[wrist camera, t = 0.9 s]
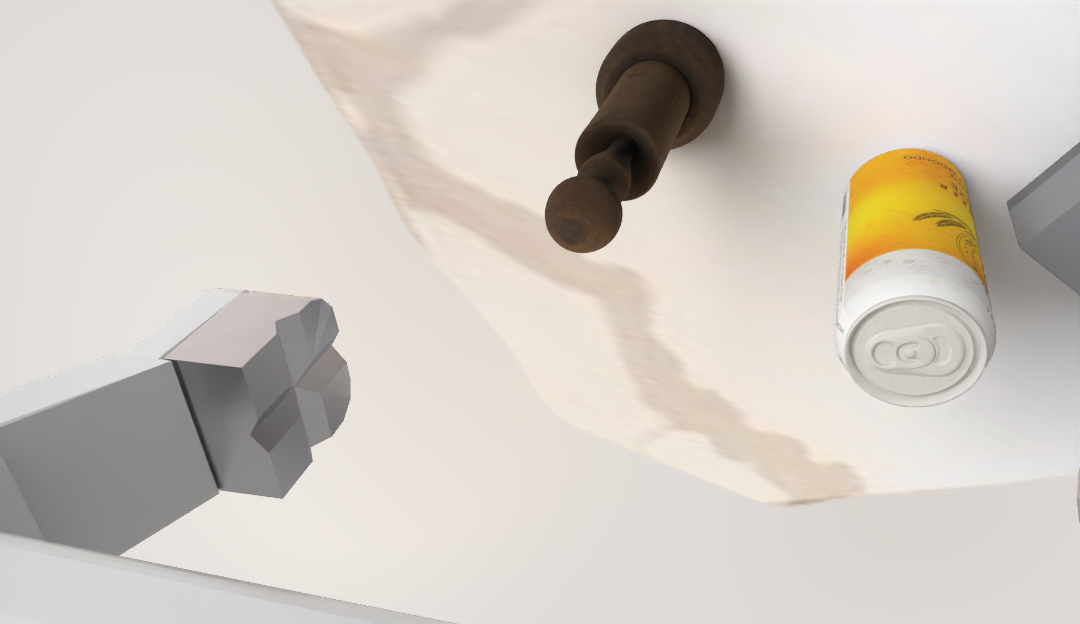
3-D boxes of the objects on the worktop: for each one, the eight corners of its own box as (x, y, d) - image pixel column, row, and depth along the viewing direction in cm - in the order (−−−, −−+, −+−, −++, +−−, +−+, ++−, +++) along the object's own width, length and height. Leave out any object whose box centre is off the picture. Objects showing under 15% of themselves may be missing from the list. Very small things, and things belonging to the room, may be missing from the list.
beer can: (968, 240, 47) (1000, 413, 35) (848, 250, 49) (840, 416, 37) (964, 134, 44) (998, 283, 32) (838, 151, 46) (826, 295, 35)
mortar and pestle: (670, 159, 50) (588, 332, 35) (582, 86, 49) (462, 232, 35) (750, 72, 46) (695, 228, 31) (656, -9, 45) (555, 112, 31)
